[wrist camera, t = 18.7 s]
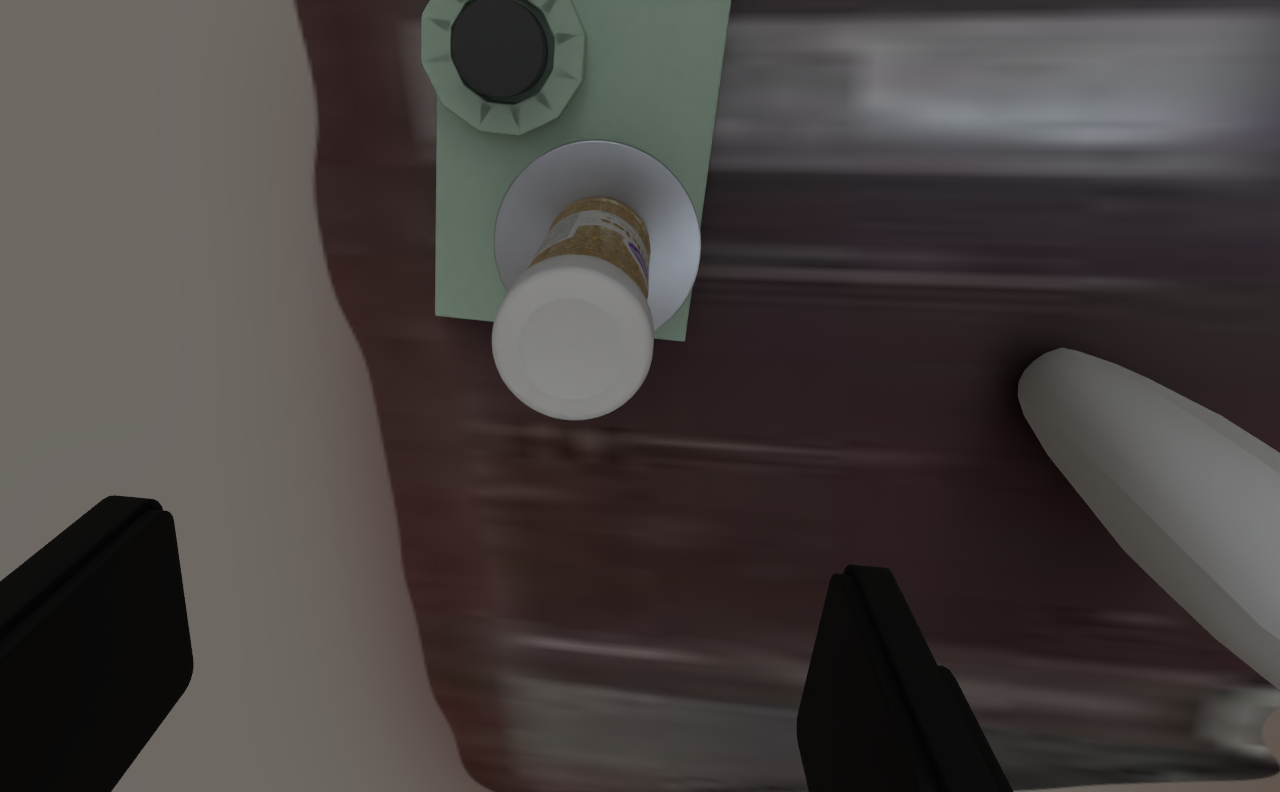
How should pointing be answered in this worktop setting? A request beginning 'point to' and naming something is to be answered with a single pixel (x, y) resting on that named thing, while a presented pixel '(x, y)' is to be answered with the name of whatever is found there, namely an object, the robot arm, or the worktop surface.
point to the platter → (614, 177)
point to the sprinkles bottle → (579, 315)
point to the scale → (568, 120)
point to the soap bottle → (1170, 492)
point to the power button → (499, 47)
